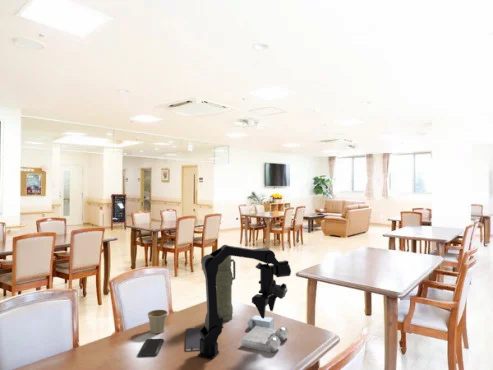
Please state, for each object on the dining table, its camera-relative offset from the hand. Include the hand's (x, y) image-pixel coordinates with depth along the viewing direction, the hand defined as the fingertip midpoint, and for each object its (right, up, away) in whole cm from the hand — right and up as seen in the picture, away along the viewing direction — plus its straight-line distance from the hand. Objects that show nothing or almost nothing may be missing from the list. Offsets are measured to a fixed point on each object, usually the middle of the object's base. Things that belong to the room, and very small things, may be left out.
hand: (267, 314), depth 147 cm
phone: (-49, -14, -3) cm, 51 cm away
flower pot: (-51, -14, +14) cm, 55 cm away
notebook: (-30, -14, +6) cm, 33 cm away
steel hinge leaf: (-1, -13, +2) cm, 13 cm away
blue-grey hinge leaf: (-2, -13, +17) cm, 22 cm away
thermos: (-21, -14, +30) cm, 39 cm away
